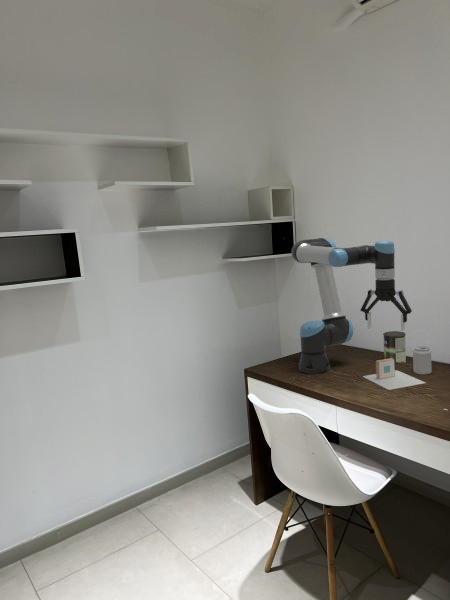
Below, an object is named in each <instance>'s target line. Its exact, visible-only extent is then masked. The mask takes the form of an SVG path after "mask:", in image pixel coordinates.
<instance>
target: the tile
mask: <svg viewBox="0 0 450 600" xmlns="http://www.w3.org/2000/svg"><path fill="white" fill-rule="evenodd" d="M395 364H396V363H394V359H393V358H389V359H378V360H375V374H376V378H377V379H384V378H389V377H395V367H396V366H395Z"/></svg>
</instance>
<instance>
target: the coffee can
mask: <svg viewBox="0 0 450 600" xmlns="http://www.w3.org/2000/svg"><path fill="white" fill-rule="evenodd" d="M406 334H407V333H405V332H403V331H398V330H397V331H396V330H393V331H391V330H390V331H386V332H383V356H384V357H383V358H384V359H389V358H393V359H394V364H399V363H404V364H405V363H406V362H407V357H406V356H407V355H406V353H407V351H406V350H407V349H406Z"/></svg>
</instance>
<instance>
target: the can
mask: <svg viewBox="0 0 450 600" xmlns="http://www.w3.org/2000/svg"><path fill="white" fill-rule="evenodd" d="M412 363H413V365H412V366H413V367H412V368H413V373H414V374H417V375H430V374H432V371H433V369H432V351H431V349H430V347H429V346H424V345H421V346H420V345H418V346H415V347H414V349H413V351H412Z"/></svg>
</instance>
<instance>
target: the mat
mask: <svg viewBox="0 0 450 600" xmlns="http://www.w3.org/2000/svg"><path fill="white" fill-rule="evenodd" d="M362 378H365V379H367V380H369V381H370V382H372V383H374V384H376V385H378V386H381V388H384V389H386V390H388V391H392V390H396V389H402V388H407V387H412V386H418V385H423V384H426V382H425V381H423V380H420V379H418V378H416V377H413V376H412V375H409V374H406V373H405V372H402V371H399V370H397V369H396V370H395V377H389V378H384V379H377V378H376V373H374V374H373V373H372V374H367V375H362Z"/></svg>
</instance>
